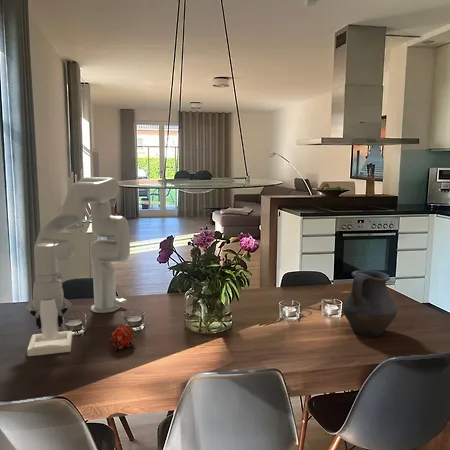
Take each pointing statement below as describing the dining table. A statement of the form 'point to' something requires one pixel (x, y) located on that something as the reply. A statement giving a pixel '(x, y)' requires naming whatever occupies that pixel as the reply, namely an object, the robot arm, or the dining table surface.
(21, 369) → the dining table surface
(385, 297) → the pitcher
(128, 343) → the dragon fruit
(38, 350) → the tray
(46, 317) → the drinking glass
